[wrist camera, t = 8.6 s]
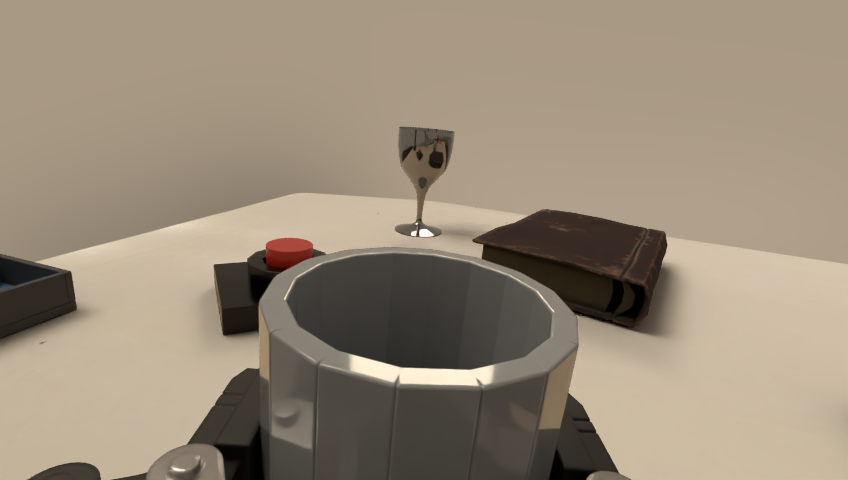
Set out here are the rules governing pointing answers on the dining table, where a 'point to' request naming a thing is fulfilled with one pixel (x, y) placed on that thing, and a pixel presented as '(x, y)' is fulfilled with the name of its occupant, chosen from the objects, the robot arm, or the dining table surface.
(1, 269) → the tray
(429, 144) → the wine glass
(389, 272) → the tumbler
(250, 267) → the control block
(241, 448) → the robot arm
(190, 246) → the dining table surface
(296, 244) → the button
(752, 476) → the dining table surface
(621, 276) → the diary
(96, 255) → the dining table surface
